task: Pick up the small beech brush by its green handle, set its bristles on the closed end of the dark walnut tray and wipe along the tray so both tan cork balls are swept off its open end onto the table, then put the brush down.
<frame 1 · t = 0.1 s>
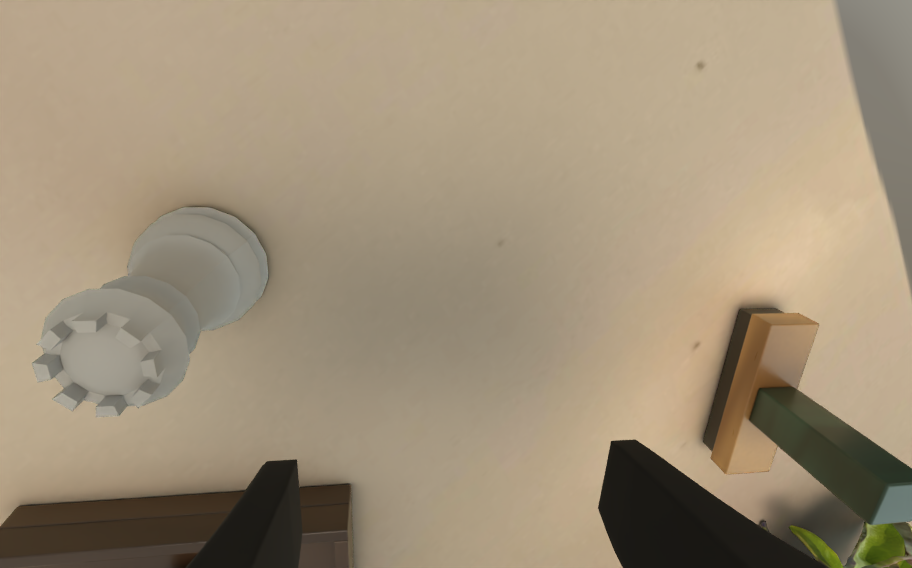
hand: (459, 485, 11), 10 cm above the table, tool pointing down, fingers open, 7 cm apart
rook chess piece: (211, 260, 19), on the table
passion flower: (774, 556, 30), on the table
brush: (737, 378, 24), on the table
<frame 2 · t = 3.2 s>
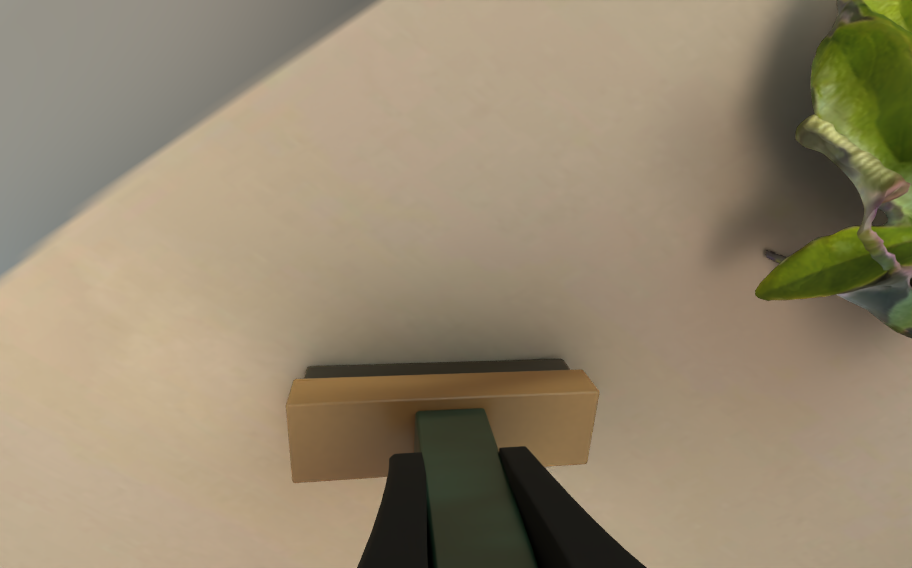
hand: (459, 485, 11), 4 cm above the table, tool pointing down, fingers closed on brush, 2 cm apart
passion flower: (873, 189, 15), on the table
brush: (439, 390, 15), on the table, touching gripper
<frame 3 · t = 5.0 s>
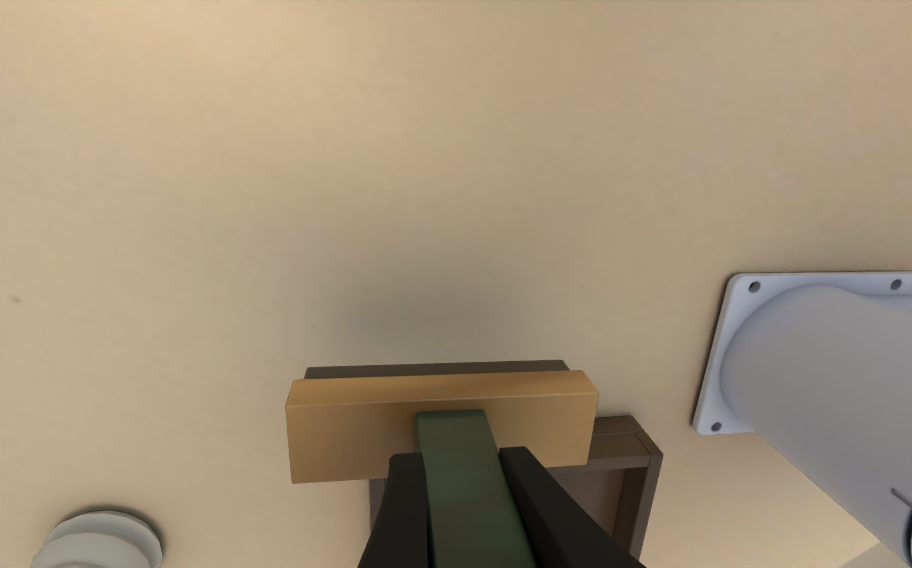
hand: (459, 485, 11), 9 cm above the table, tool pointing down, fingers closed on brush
tray: (495, 541, 24), on the table
rook chess piece: (112, 541, 21), on the table
brush: (438, 391, 15), point 5 cm above the table, touching gripper
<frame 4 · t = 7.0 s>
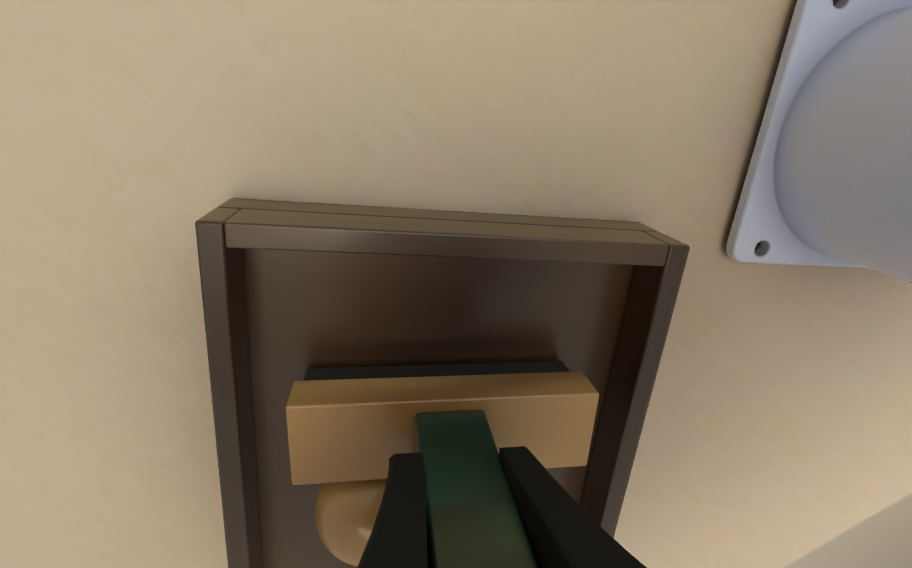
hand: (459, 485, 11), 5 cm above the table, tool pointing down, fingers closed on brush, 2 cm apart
tray: (431, 414, 16), on the table
cork ball 2: (369, 506, 14), point 3 cm above the table, tilted 46°, touching tray
brush: (438, 392, 15), point 1 cm above the table, touching gripper
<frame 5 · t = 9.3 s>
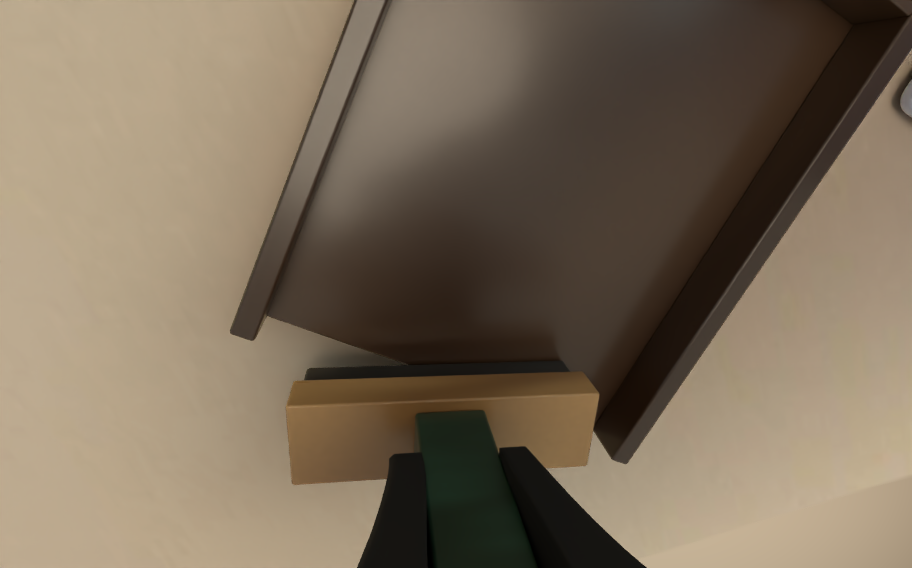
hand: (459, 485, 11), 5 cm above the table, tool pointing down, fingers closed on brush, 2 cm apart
tray: (545, 158, 14), on the table
brush: (439, 392, 15), point 1 cm above the table, touching gripper
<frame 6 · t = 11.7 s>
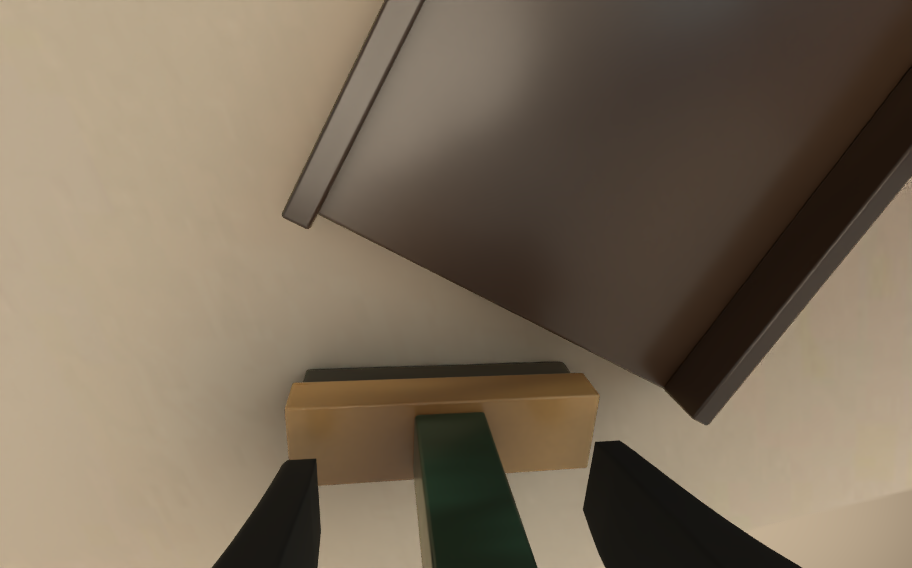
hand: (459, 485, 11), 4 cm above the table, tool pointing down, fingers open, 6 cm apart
tray: (647, 63, 12), on the table
brush: (438, 393, 15), on the table
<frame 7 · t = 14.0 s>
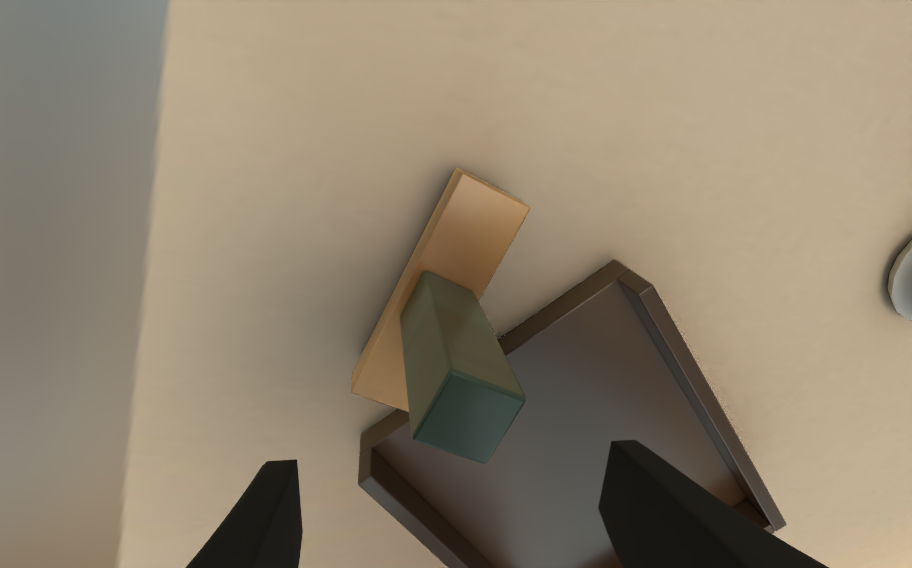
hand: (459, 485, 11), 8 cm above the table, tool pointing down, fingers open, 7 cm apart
tray: (570, 459, 21), on the table
brush: (429, 280, 17), on the table
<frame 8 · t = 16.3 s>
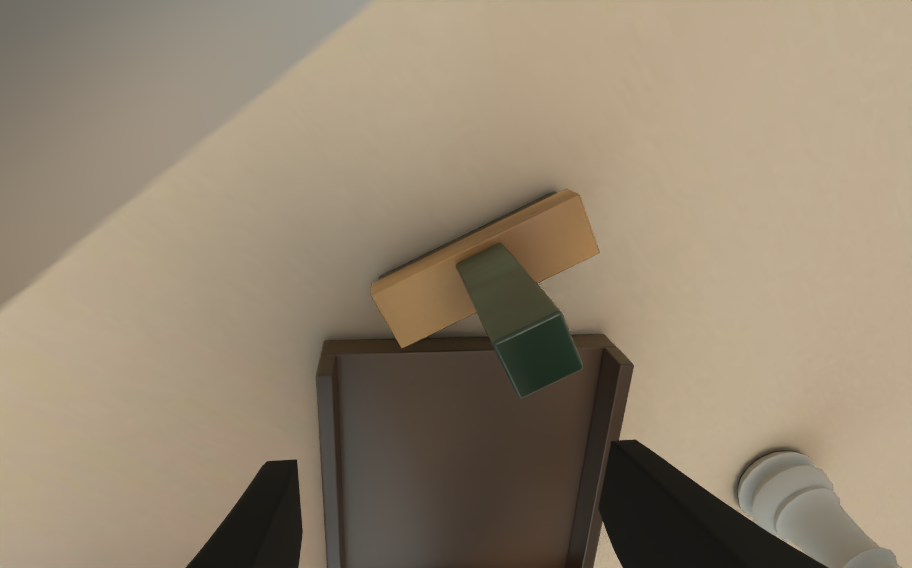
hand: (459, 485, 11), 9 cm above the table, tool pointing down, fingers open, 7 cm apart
tray: (461, 470, 23), on the table
rook chess piece: (767, 477, 26), on the table
brush: (476, 255, 19), on the table
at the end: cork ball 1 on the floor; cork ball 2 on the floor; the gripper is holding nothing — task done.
